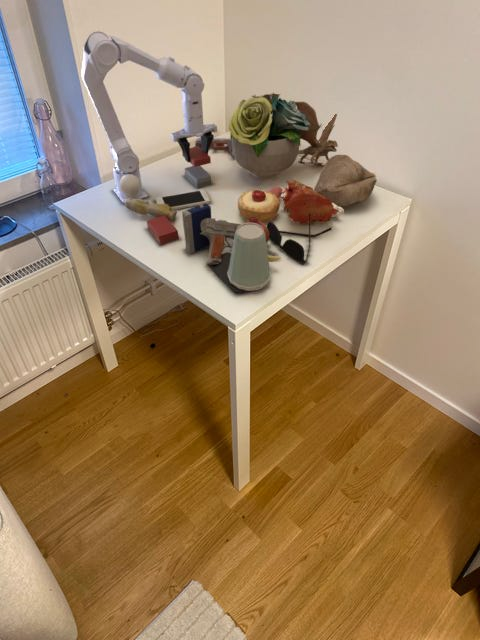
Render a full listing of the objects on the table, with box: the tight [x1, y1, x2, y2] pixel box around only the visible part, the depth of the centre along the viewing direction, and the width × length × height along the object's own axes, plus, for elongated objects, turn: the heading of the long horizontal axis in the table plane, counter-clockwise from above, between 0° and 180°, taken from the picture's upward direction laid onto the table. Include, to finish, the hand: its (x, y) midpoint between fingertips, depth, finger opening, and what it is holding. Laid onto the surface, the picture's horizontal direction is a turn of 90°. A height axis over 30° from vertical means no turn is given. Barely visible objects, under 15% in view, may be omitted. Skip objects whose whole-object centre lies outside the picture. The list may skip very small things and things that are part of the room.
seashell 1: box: [282, 177, 338, 225], centre depth 133 cm, size 17×11×15 cm
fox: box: [268, 254, 282, 263], centre depth 121 cm, size 12×9×2 cm
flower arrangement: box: [228, 91, 310, 180], centre depth 151 cm, size 25×25×24 cm
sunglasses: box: [266, 213, 332, 265], centre depth 130 cm, size 17×14×5 cm
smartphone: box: [155, 189, 211, 211], centre depth 147 cm, size 7×15×1 cm, turn 109°
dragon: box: [294, 101, 339, 166], centre depth 160 cm, size 17×25×19 cm
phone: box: [207, 251, 247, 295], centre depth 122 cm, size 7×1×15 cm
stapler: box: [331, 203, 345, 219], centre depth 140 cm, size 13×5×2 cm
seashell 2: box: [313, 154, 378, 207], centre depth 144 cm, size 16×17×15 cm
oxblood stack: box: [146, 215, 180, 246], centre depth 134 cm, size 9×6×3 cm, turn 30°
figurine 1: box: [124, 198, 178, 222], centre depth 140 cm, size 5×5×15 cm
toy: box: [267, 245, 278, 257], centre depth 129 cm, size 1×8×2 cm
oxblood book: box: [181, 146, 212, 167], centre depth 152 cm, size 9×6×2 cm, turn 30°
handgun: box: [194, 137, 235, 159], centre depth 171 cm, size 3×19×12 cm
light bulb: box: [120, 174, 140, 199], centre depth 142 cm, size 6×6×10 cm
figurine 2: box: [267, 186, 289, 213], centre depth 145 cm, size 12×3×7 cm
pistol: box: [200, 217, 242, 266], centre depth 128 cm, size 19×2×12 cm
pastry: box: [237, 183, 281, 224], centre depth 139 cm, size 12×12×9 cm
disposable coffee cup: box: [227, 221, 272, 292], centre depth 114 cm, size 11×11×15 cm
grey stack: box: [184, 165, 213, 189], centre depth 157 cm, size 9×5×3 cm, turn 30°
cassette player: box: [181, 203, 212, 255], centre depth 126 cm, size 7×2×12 cm, turn 125°
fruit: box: [245, 217, 270, 244], centre depth 126 cm, size 8×8×10 cm
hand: (196, 158), depth 152 cm, fingers closed on oxblood book, 5 cm apart
